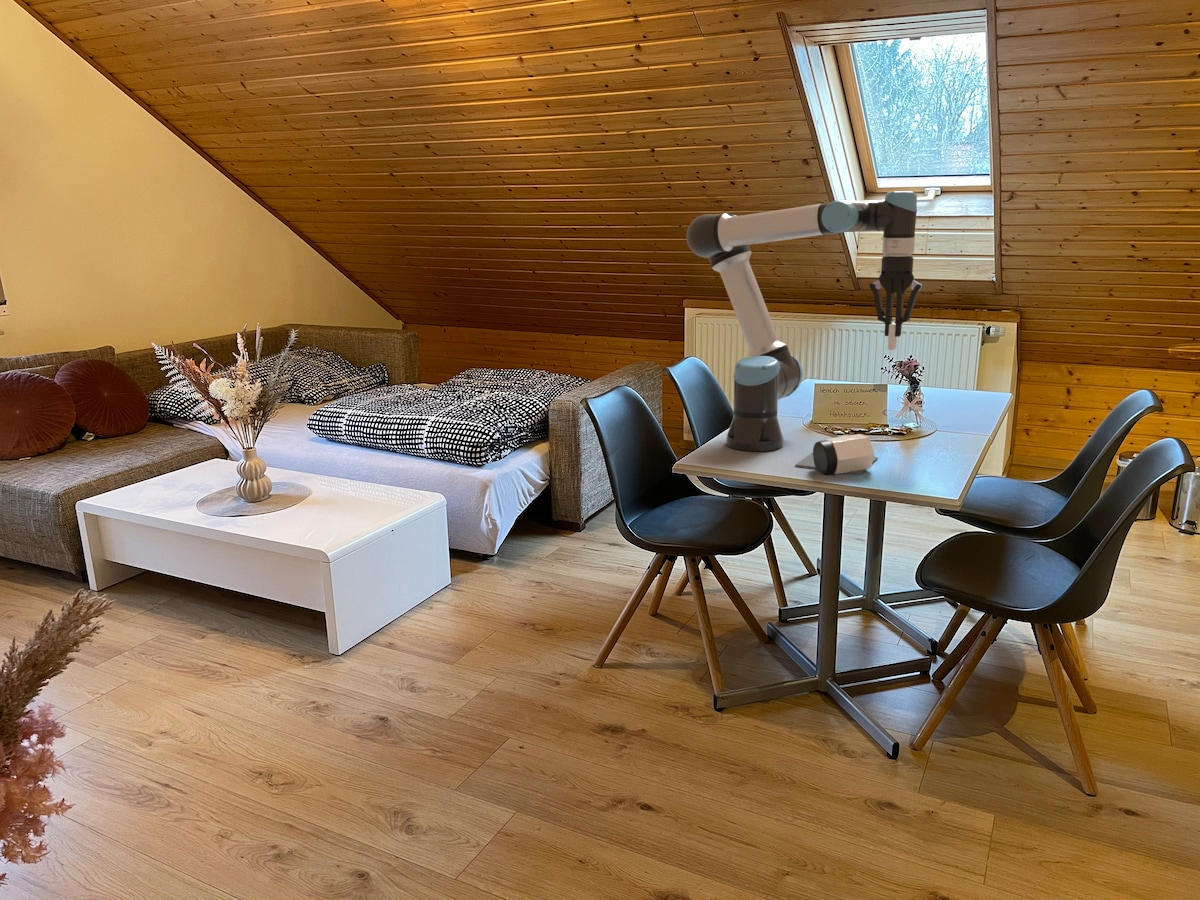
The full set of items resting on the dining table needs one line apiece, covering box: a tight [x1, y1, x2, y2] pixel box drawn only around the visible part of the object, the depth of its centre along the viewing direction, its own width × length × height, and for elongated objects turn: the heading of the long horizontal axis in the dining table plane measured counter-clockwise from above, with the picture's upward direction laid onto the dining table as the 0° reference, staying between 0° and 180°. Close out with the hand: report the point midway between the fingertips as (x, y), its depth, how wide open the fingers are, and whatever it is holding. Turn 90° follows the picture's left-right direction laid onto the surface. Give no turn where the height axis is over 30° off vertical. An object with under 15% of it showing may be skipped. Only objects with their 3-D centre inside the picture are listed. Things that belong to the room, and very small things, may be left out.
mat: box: [794, 452, 878, 476], centre depth 224 cm, size 16×16×1 cm
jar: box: [812, 433, 875, 475], centre depth 216 cm, size 9×8×12 cm
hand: (891, 349), depth 231 cm, fingers closed
